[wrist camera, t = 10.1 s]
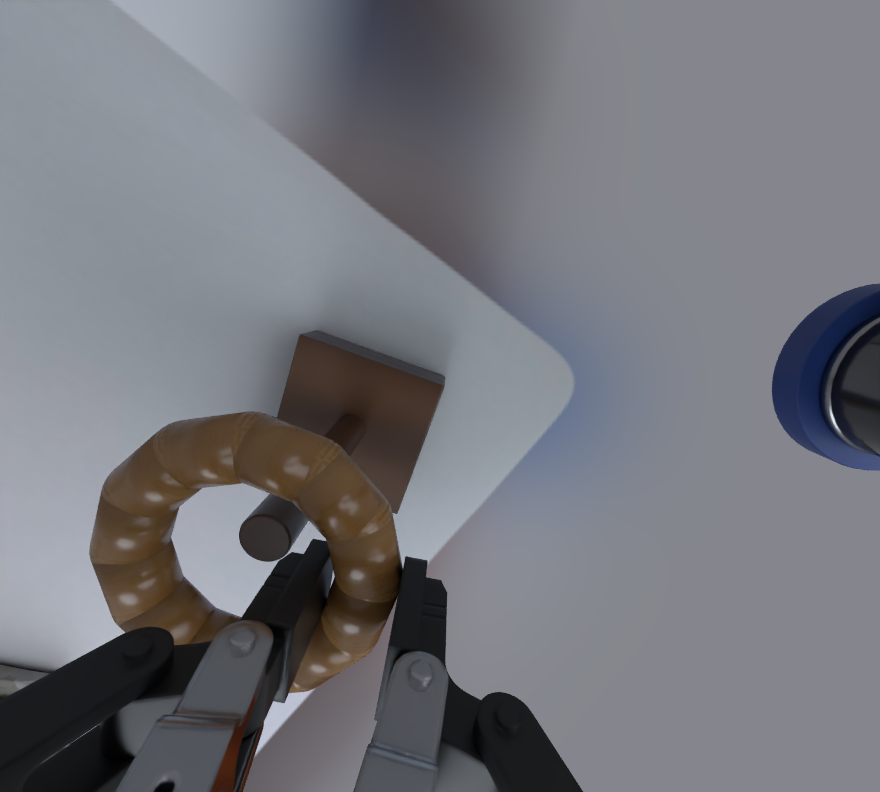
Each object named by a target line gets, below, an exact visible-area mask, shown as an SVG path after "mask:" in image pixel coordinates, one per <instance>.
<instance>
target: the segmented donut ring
mask: <svg viewBox="0 0 880 792" xmlns="http://www.w3.org/2000/svg"><path fill="white" fill-rule="evenodd" d="M240 483H244V484H247V485H249V486H252V487H255V488H257V489H260V490H262V491H265V492H268V493H270V494H273V495H276V496H278V497H281V498H283V499H286V500H289V501H291V502H293V503H294V505H295V506H296V507H297V508H298V509H299V510H300V511H301V512H302V513H303V514H304V515H305V517H306V518H307V519H308V520H309V521H310V522H311V523H312V524H313V525H314V526H315V527H316V529H317V530H318V531H319V532H320V533H321V534H322V535H323V536H324V537H325V538H326V540H327V545H328V549H329V553H330V558H331V562H332V566H333V571H334V575H335V578H334V580H333V583H332V586H331V588H330V591H329V593H328V596H327V598H326V601H325V604H324V607H323V610H322V614H321V616H320V619H319V621H318V624H317V626H316V628H315V631H314V633H313V636H312V638H311V641H310V643H309V645H308V648H307V650H306V653H305V655H304V657H303V660H302V662H301V665H300V667H299V669H298V672H297V674H296V677H295V679H294V681H293V684H292V686H291V689H290V691H289V693H295V692H305V691H309V690H311V689H314V688H316V687H318V686H319V685H321V684H322V683H324V682H325V681H327V680H328V679H330V678H332V677H333V676H335V675H336V674H338V673H340V672H341V671H343V670H344V669H346V668H347V667H349V666H351V665H352V664H354V663H355V662H357V661H359V660H360V659H362V658H363V657H365V656H366V655H367V654H368V653H369V652H371V650H372V649H373V648H374V646H375V645H376V643H377V641H378V639H379V637H380V635H381V632H382V630H383V628H384V626H385V624H386V621H387V619H388V617H389V614H390V612H391V610H392V608H393V606H394V603H395V601H396V599H397V597H398V593H399V588H400V583H401V578H402V573H403V568H402V563H401V557H400V552H399V546H398V541H397V536H396V530H395V525H394V519H393V514H392V510H391V507H390V504H389V502H388V501H387V499H386V498H385V496H384V495H383V494H382V493H381V492H380V491H379V489H378V488H377V487H376V486H375V485H374V484H373V482H372V481H371V480H370V479H369V478H368V477H367V476H366V474H365V473H364V472H363V471H362V470H361V469H360V468H359V466H358V465H357V464H356V463H355V462H354V461H353V459H352V458H351V457H350V456H349V455H348V454H347V453H346V451H345V450H344V449H343V448H342V447H341V446H340V445H339V444H338V443H336V442H335V441H333V440H331V439H329V438H326V437H324V436H321V435H319V434H316V433H313V432H311V431H308V430H306V429H303V428H301V427H298V426H296V425H293V424H291V423H288V422H285V421H283V420H280V419H278V418H275V417H273V416H270V415H268V414H264V413H261V412H242V413H234V414H226V415H219V416H211V417H203V418H195V419H188V420H181V421H177V422H173V423H171V424H168V425H167V426H165V427H163V428H162V429H160V430H159V431H158V432H157V433H156V434H155V435H153V436H152V437H151V438H150V439H149V440H148V441H147V442H145V443H144V444H143V445H142V446H141V447H140V448H138V449H137V450H136V451H135V452H134V453H133V454H132V455H130V456H129V457H128V458H127V459H126V460H125V461H123V462H122V463H121V464H120V465H119V466H118V467H117V468H115V469H114V470H113V471H112V472H111V473H110V474H109V476H108V477H107V479H106V480H105V482H104V485H103V487H102V491H101V496H100V501H99V505H98V510H97V515H96V519H95V524H94V528H93V533H92V538H91V542H90V550H89V555H90V559H91V562H92V565H93V567H94V570H95V573H96V575H97V578H98V581H99V583H100V586H101V589H102V591H103V594H104V597H105V599H106V602H107V605H108V607H109V610H110V613H111V615H112V618H113V619H114V621H115V623H116V624H117V625H118V626H119V627H120V628H121V629H122V630H123V631H124V632H125V633H126V632H129V631H132V630H134V629H138V628H143V627H159V628H163V629H165V630H167V631H169V632H170V633H171V634H172V636H173V638H174V645H183V644H194V643H203V642H207V641H211V640H213V639H214V637H215V636H216V634H217V633H218V632H219V631H221V630H222V629H223V628H225V627H226V626H228V625H230V624H232V623H235V622H238V621H240V619H241V618H242V617H239V616H236V615H234V614H231V613H228V612H226V611H223V610H220V609H217V608H216V607H215V606H214V605H212V604H211V603H210V602H209V601H208V600H207V599H206V598H205V597H204V596H203V595H202V594H201V593H200V592H199V591H198V590H197V589H196V588H195V587H194V586H193V585H192V584H191V583H190V582H189V581H188V580H187V579H186V578H185V577H184V576H183V573H182V570H181V567H180V564H179V561H178V558H177V554H176V551H175V548H174V545H173V542H172V539H171V535H172V532H173V528H174V524H175V521H176V517H177V513H178V510H179V506H181V505H182V504H183V503H184V502H186V501H187V500H188V499H189V498H190V497H192V496H193V495H194V494H195V493H197V492H198V491H199V490H200V489H202V488H205V487H214V486H223V485H232V484H240Z"/></svg>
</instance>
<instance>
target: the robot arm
mask: <svg viewBox="0 0 880 792" xmlns="http://www.w3.org/2000/svg"><path fill="white" fill-rule="evenodd" d="M819 405H820V410H821V414H822V416H823V419H824V421H825V423H826V425H827V426H828V428H829V429H830V431H831V432H832V433H833V434H834V435H835V436H836V437H837V438H838V439H839V440H841V441H842V442H843V443H845V444H847V445H849V446H851V447H853V448H855V449H858V450H860V451H863V452H866V453H869V454H872V455H876V456H878V457H880V313H879V314H877V315H875V316H873V317H871V318H869V319H867V320H866V321H864V322H863V323H861V324H860V325H858V326H857V327H856V328H855V329H853V330H852V331H851V332H850V333H849V334H848V335H847V336H846V337H845V338H844V339H843V340H842V341H841V342H840V343H839V345H838V346H837V347H836V349H835V350H834V351H833V353H832V355H831V356H830V358H829V360H828V362H827V364H826V366H825V368H824V371H823V374H822V377H821V381H820V387H819ZM426 570H427V560H422V559H417V558H411V557H405V562H404V567H403V573H402V578H401V583H400V588H399V593H398V598H397V603H396V609H395V614H394V620H393V624H392V630H391V635H390V640H389V645H388V650H387V656H386V661H385V666H384V671H383V677H382V682H381V687H380V692H379V698H378V703H377V708H376V714H375V719H374V720H377V724H376V727H375V730H374V734H373V737H372V740H371V743H370V744H368V747H367V750H366V752H365V755H364V759H363V762H362V765H361V768H360V772H359V775H358V778H357V782H356V785H355V788H354V791H353V792H583V791H582V790H581V788H580V786H579V785H578V783H577V782H576V780H575V779H574V777H573V776H572V774H571V773H570V771H569V769H568V768H567V766H566V765H565V763H564V762H563V760H562V759H561V757H560V756H559V754H558V752H557V751H556V749H555V748H554V746H553V745H552V743H551V742H550V740H549V739H548V737H547V735H546V734H545V732H544V731H543V729H542V728H541V726H540V725H539V723H538V721H537V720H536V718H535V717H534V715H533V714H532V713H531V711H530V710H529V708H528V707H527V706H526V705H525V704H524V703H523V702H522V701H521V700H519V699H518V698H516V697H515V696H512V695H510V694H507V693H502V692H495V693H491V694H488V695H487V696H485V697H484V698H483V699H482V700H479V699H477V698H475V697H474V696H472V695H470V694H468V693H466V692H465V691H463V690H461V689H460V688H459V687H458V686H457V685H456V684H455V683H454V682H453V681H452V679H451V678H450V676H449V674H448V672H447V669H446V665H445V648H446V614H447V609H446V607H447V592H446V590H445V588H444V586H443V584H442V582H441V580H437V579H431V578H426ZM332 573H333V566H332V562H331V558H330V553H329V549H328V545H327V541H322V540H317V539H313V540H312V541H311V543H310V544H309V546H308V548H307V550H306V551H305V553H304V554H300V553H294V552H291V553H290V554H289V555H287V556H286V557H284V558H283V559H281V560H280V561H279V562H278V563H277V565H276V566H275V568H274V569H273V571H272V572H271V575H269V577H268V578H267V580H266V581H265V583H264V585H263V586H262V587H261V589H260V590H259V592H258V593H257V595H256V596H255V598H254V599H253V601H252V603H251V604H250V606H249V607H248V609H247V610H246V612H245V613H244V615H243V616H242V618H241V619H240V621H238V622H235V623H232V624H230V625H228V626H226V627H225V628H223V629H222V630H221V631H219V632H218V633H217V634H216V636H215V637H214V639H213V640H211V641H207V642H203V643H194V644H183V645H174V638H173V636H172V634H171V633H170V632H169V631H167V630H165V629H163V628H159V627H143V628H138V629H134V630H132V631H129V632H126V633H124V634H122V635H120V636H118V637H117V638H115V639H113V640H111V641H109V642H107V643H105V644H104V645H102V646H100V647H98V648H96V649H94V650H92V651H91V652H89V653H87V654H85V655H83V656H81V657H79V658H78V659H76V660H74V661H72V662H70V663H68V664H66V665H65V666H63V667H61V668H59V669H57V670H55V671H53V672H52V673H50V674H48V675H46V676H44V677H42V678H40V679H39V680H37V681H35V682H33V683H31V684H29V685H27V686H26V687H24V688H22V689H20V690H18V691H16V692H14V693H13V694H11V695H9V696H7V697H5V698H3V699H1V700H0V792H243V789H244V786H245V783H246V780H247V777H248V774H249V771H250V767H251V764H252V761H253V758H254V755H255V752H256V749H257V746H258V743H259V740H260V737H261V734H262V730H263V725H264V720H265V718H266V716H267V714H268V711H269V709H270V707H271V705H272V702H273V701H276V702H281V703H285V701H286V698H287V696H288V693H289V691H290V689H291V686H292V684H293V681H294V679H295V677H296V674H297V672H298V669H299V667H300V665H301V662H302V660H303V657H304V655H305V653H306V650H307V648H308V645H309V643H310V641H311V638H312V636H313V633H314V631H315V628H316V626H317V624H318V621H319V619H320V616H321V614H322V610H323V607H324V604H325V601H326V598H327V596H328V593H329V591H330V586H331V579H332ZM98 724H99V725H98ZM97 725H98V726H97ZM95 726H96V727H95ZM94 727H95V728H94ZM92 728H93V729H92ZM91 729H92V730H91ZM89 730H90V731H89ZM88 731H89V732H88ZM86 732H87V733H86ZM85 733H86V734H85ZM83 734H84V735H83ZM82 735H83V736H82ZM80 736H81V737H80ZM79 737H80V738H79ZM77 738H78V739H77ZM76 739H77V740H76ZM74 740H76V741H74ZM73 741H74V742H73ZM71 742H73V743H71ZM70 743H71V744H70ZM68 744H70V745H68ZM67 745H68V746H67ZM65 746H67V747H65ZM64 747H65V748H64ZM63 748H64V749H63ZM61 749H62V750H61ZM60 750H61V751H60ZM58 751H59V752H58ZM57 752H58V753H57ZM55 753H56V754H55ZM54 754H55V755H54ZM52 755H53V756H52ZM51 756H52V757H51ZM49 757H50V758H49ZM48 758H49V759H48ZM46 759H47V760H46ZM45 760H46V761H45ZM42 762H43V763H42Z"/></svg>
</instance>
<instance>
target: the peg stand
mask: <svg viewBox="0 0 880 792" xmlns="http://www.w3.org/2000/svg"><path fill="white" fill-rule="evenodd" d="M444 385H445V376H442V375H439V374H437V373H434V372H431V371H428V370H426V369H423V368H420V367H417V366H414V365H412V364H409V363H406V362H403V361H401V360H398V359H395V358H392V357H389V356H387V355H384V354H381V353H378V352H376V351H373V350H370V349H367V348H364V347H362V346H359V345H356V344H353V343H351V342H348V341H345V340H342V339H339V338H337V337H334V336H331V335H328V334H326V333H323V332H320V331H317V330H316V331H312V332H308V333H304V334H300V336H299V339H298V343H297V347H296V350H295V354H294V358H293V361H292V365H291V368H290V372H289V376H288V379H287V383H286V387H285V390H284V394H283V398H282V401H281V405H280V408H279V412H278V416H277V418H278V419H280V420H283V421H285V422H288V423H291V424H293V425H296V426H298V427H301V428H303V429H306V430H308V431H311V432H313V433H316V434H319V435H321V436H324V437H326V438H329V439H331V440H333V441H335V442H336V443H338V444H339V445H340V446H341V447H342V448H343V449H344V450H345V451H346V453H347V454H348V455H349V456H350V457H351V458H352V459H353V461H354V462H355V463H356V464H357V465H358V466H359V468H360V469H361V470H362V471H363V472H364V473H365V474H366V476H367V477H368V478H369V479H370V480H371V481H372V482H373V484H374V485H375V486H376V487H377V488H378V489H379V491H380V492H381V493H382V494H383V495H384V496H385V498H386V499H387V501H388V502H389V504H390V507H391V510H392V513H395V514H397V513H398V511H399V508H400V505H401V502H402V500H403V497H404V494H405V492H406V489H407V486H408V484H409V481H410V478H411V475H412V473H413V470H414V467H415V465H416V462H417V459H418V457H419V454H420V451H421V448H422V446H423V443H424V440H425V438H426V435H427V432H428V430H429V427H430V424H431V421H432V419H433V416H434V413H435V411H436V408H437V405H438V403H439V400H440V397H441V394H442V392H443V389H444ZM308 521H309V520H308V519H307V518H306V517H305V515H304V514H303V513H302V512H301V511H300V510H299V509H298V508H297V507H296V506H295V505H294V503H293V502H291V501H289V500H286V499H283V498H281V497H278V496H276V495H273V494H269V495H268V496H267V497H266V498H265V499H264V501H263V502H262V503H261V504H260V505H259V506H258V507H257V508H256V509H255V510H254V511H253V512H252V513H251V514H250V516H249V517H248V518H247V519H246V520H245V521H244V522H243V524H242V525H241V528H240V532H239V540H240V543H241V546H242V547H243V549H244V550H245V551H246V553H247V554H249V555H250V556H251V557H253V558H255V559H257V560H260V561H266V562H269V561H275V560H278V559H280V558H282V557H283V556H285V555H286V554H287V553H288V551H289V550H290V548H291V547H292V545H293V544H294V542H295V541H296V539H297V538H298V536H299V534H300V533H301V531H302V530H303V528H304V527H305V525H306V524H307V522H308Z"/></svg>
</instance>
